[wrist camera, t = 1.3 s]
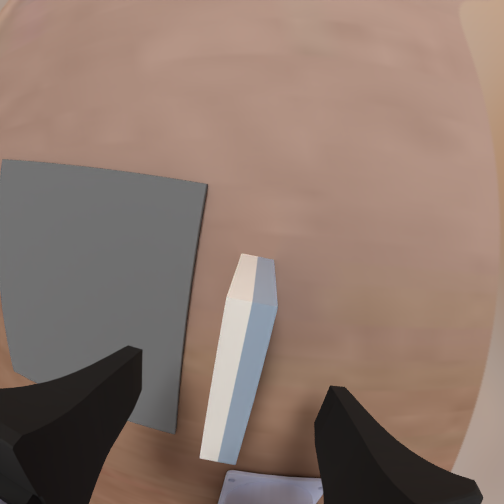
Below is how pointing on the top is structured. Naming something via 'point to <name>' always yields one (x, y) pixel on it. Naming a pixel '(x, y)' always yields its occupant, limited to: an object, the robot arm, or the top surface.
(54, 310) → the mat
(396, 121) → the top surface
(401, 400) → the top surface
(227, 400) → the tile
